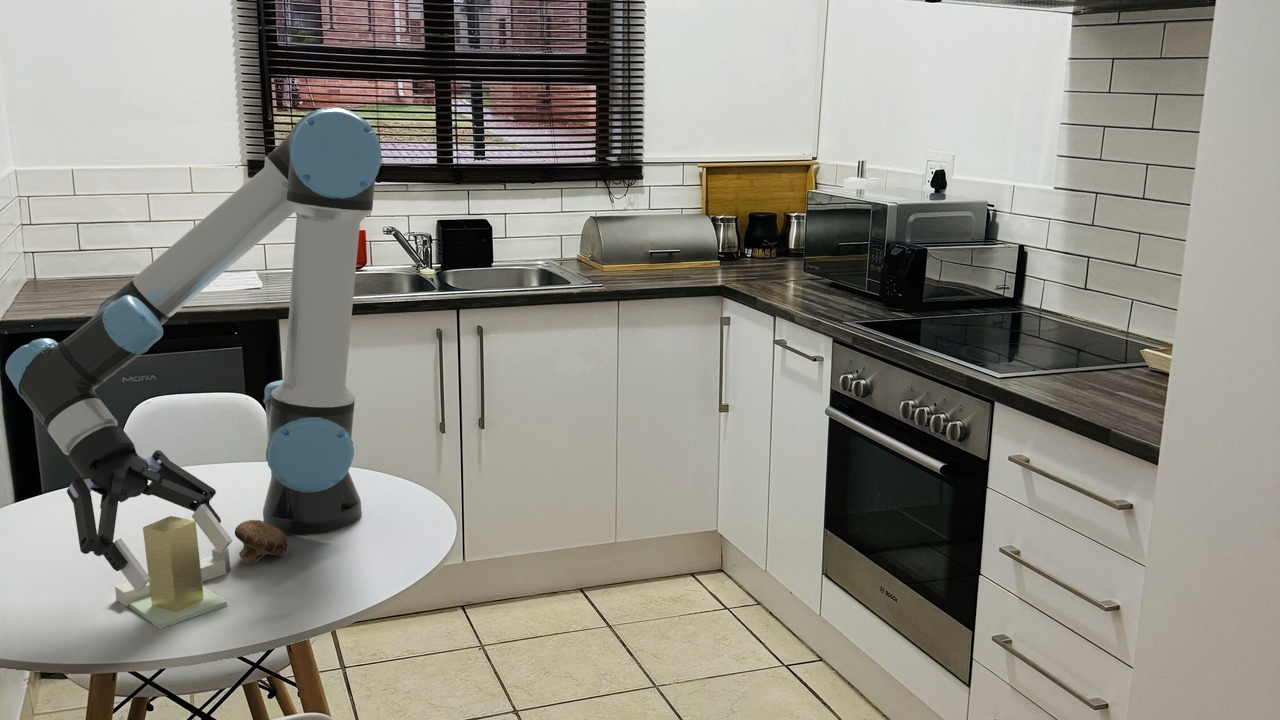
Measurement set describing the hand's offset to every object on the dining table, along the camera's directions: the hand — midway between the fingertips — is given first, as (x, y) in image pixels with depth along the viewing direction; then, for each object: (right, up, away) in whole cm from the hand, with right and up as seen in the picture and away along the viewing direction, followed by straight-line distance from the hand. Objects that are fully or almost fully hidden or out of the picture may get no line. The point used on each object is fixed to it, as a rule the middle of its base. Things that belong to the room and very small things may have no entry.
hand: (186, 565), depth 143 cm
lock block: (-2, -5, +2) cm, 6 cm away
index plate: (-2, -6, +2) cm, 7 cm away
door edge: (-5, -4, +8) cm, 11 cm away
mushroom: (+4, -2, +18) cm, 19 cm away
